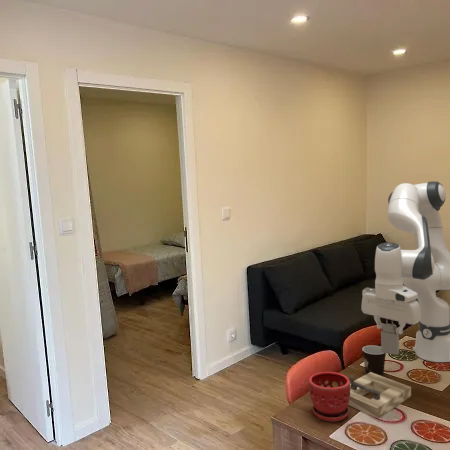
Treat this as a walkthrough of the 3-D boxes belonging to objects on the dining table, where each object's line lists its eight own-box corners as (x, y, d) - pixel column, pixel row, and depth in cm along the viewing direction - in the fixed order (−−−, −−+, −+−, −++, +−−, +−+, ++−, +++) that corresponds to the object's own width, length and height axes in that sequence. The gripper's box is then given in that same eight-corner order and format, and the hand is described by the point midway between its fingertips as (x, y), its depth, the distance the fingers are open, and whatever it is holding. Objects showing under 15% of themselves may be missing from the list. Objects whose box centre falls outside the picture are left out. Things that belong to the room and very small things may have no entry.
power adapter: (383, 349, 157) (382, 315, 155) (399, 351, 154) (399, 317, 152) (380, 352, 154) (380, 318, 153) (397, 354, 151) (396, 320, 150)
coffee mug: (387, 380, 168) (387, 354, 167) (363, 379, 170) (363, 354, 168) (383, 366, 179) (383, 342, 178) (361, 366, 181) (360, 342, 180)
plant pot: (359, 413, 147) (358, 378, 145) (333, 429, 138) (332, 393, 137) (326, 399, 157) (325, 366, 155) (301, 413, 149) (300, 379, 147)
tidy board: (370, 380, 168) (370, 360, 167) (410, 396, 155) (410, 374, 154) (336, 399, 156) (336, 377, 155) (377, 418, 143) (377, 394, 142)
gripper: (357, 288, 158) (358, 326, 159) (412, 298, 142) (412, 340, 143) (367, 284, 162) (368, 322, 163) (422, 294, 146) (423, 335, 147)
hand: (389, 331), depth 153 cm, fingers closed on power adapter, 6 cm apart
